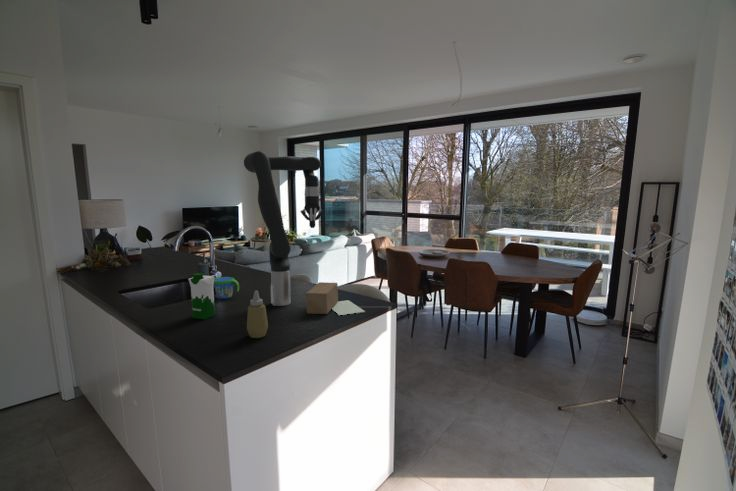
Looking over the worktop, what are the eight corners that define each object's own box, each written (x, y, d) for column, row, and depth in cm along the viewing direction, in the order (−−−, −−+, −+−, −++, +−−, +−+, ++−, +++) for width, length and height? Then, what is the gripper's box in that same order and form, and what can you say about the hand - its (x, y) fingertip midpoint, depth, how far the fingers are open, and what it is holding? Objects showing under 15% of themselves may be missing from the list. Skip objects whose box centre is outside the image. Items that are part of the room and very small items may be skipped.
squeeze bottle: (249, 332, 147) (247, 288, 144) (270, 331, 147) (268, 288, 145) (244, 340, 139) (242, 293, 136) (266, 339, 139) (264, 293, 137)
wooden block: (338, 301, 187) (327, 314, 168) (319, 301, 189) (306, 313, 170) (337, 282, 186) (326, 293, 166) (318, 282, 188) (305, 292, 168)
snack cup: (243, 295, 201) (242, 277, 199) (233, 300, 190) (233, 281, 189) (215, 294, 202) (214, 276, 201) (205, 299, 192) (204, 280, 190)
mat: (339, 315, 167) (339, 315, 167) (324, 304, 185) (324, 303, 185) (365, 312, 172) (365, 311, 172) (348, 300, 191) (348, 300, 191)
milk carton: (188, 318, 163) (185, 274, 160) (203, 312, 171) (201, 270, 168) (204, 320, 160) (201, 275, 157) (219, 314, 168) (216, 271, 166)
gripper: (301, 195, 190) (302, 228, 192) (326, 195, 195) (326, 227, 198) (297, 195, 196) (298, 227, 199) (321, 195, 202) (321, 226, 204)
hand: (312, 227), depth 198 cm, fingers closed
